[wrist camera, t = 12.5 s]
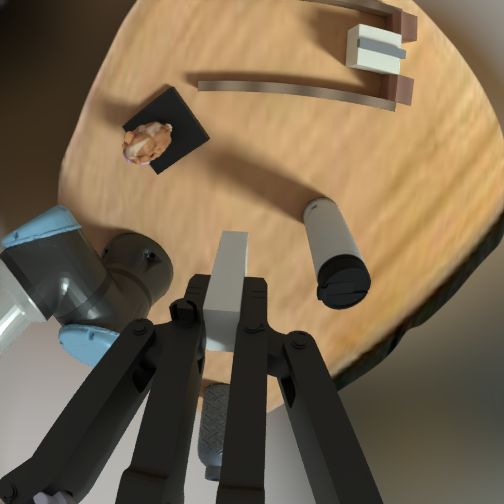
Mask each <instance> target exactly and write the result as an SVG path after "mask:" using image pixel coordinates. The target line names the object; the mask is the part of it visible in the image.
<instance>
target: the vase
mask: <svg viewBox="0 0 504 504" xmlns="http://www.w3.org/2000/svg"><path fill="white" fill-rule="evenodd" d="M229 390H230V385H226V384H215V385H211V386H209V387H207V388H206V390H205V391H204V396H203V404H202V412H201V421H200V430H199V438H198V456H199V459H200V460H201V462H202V463H203V464H204V465H205V466H206V471H205V479H207V480H211V481H219V480H220V471H221V462H222V453H223V444H224V435H225V426H226V417H227V408H228V399H229Z"/></svg>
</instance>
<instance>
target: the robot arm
mask: <svg viewBox="0 0 504 504" xmlns="http://www.w3.org/2000/svg"><path fill="white" fill-rule="evenodd" d="M81 227H82V226H81V225H80V224H79V223H78V222H77V220H76V219H75V217H74V216H73V214H72V213H71V211H70V210H69V209H68V208H67V207H66V206H64V205H57V206H55V207H53V208H51V209H49V210H47V211H46V212H44V213H43V214H41V215H39V216H37V217H35V218H34V219H32V220H30V221H29V222H27V223H26V224H24V225H22V226H21V227H19V228H18V229H16V230H15V231H13V232H12V233H10V234H8V235H7V236H5V237H4V238H3V239H2V247H3V248H5V250H4V251H3V252H2V253H1V254H0V358H1V356H2V355H3V354H4V353H5V352H6V351H7V349H8V348H9V347H10V346H11V345H12V343H13V342H14V341H15V340H16V339H17V338H18V336H19V335H20V334H21V333H22V332H23V331H24V329H25V328H26V327H27V326H28V325H29V324H30V323H32V322H42V323H45V322H46V321H47V320H48V319H49V318H50V317H51V316H52V315H53V316H54V317H55V318H56V319H57V321H58V322H59V323H60V324H61V326H62V327H61V328H60V330H59V335H58V338H59V340H60V344H61V346H62V347H63V348H64V349H65V350H66V351H67V352H68V353H69V354H70V355H71V356H73V357H74V358H76V359H77V360H79V361H81V362H82V363H85V364H87V365H89V366H92V367H94V369H93V370H92V371H91V373H90V374H89V375H88V377H87V378H86V379H85V381H84V382H83V383H82V385H81V386H80V388H79V389H78V390H77V392H76V393H75V394H74V396H73V398H72V399H71V400H70V401H69V403H68V404H67V406H66V407H65V408H64V410H63V411H62V413H61V414H60V416H59V417H58V419H57V420H56V421H55V423H54V424H53V426H52V427H51V429H50V430H49V432H48V433H47V435H46V436H45V437H44V439H43V440H42V442H41V444H40V445H39V447H38V448H37V450H36V451H35V453H34V454H33V456H32V457H31V458H30V459H28V460H27V461H25V462H24V463H23V464H21V465H20V466H18V467H17V468H15V469H14V470H12V471H11V472H9V473H8V474H7V475H5V476H4V477H2V478H1V479H0V504H78V503H79V502H80V501H82V499H83V498H84V497H85V496H86V495H87V494H88V493H89V491H90V490H91V488H92V487H93V485H94V484H95V482H96V480H97V478H98V477H99V475H100V473H101V471H102V470H103V468H104V466H105V465H106V463H107V461H108V459H109V458H110V456H111V454H112V453H113V451H114V449H115V447H116V446H117V444H118V442H119V441H120V439H121V437H122V436H123V434H124V432H125V431H126V429H127V427H128V426H129V424H130V422H131V420H132V419H133V417H134V415H135V414H136V412H137V410H138V409H139V407H140V405H141V404H142V402H143V400H144V399H145V397H146V395H147V394H148V392H149V390H150V393H149V396H148V400H147V403H146V407H145V411H144V414H143V418H142V422H141V425H140V429H139V433H138V437H137V441H136V445H135V449H134V453H133V457H132V461H131V464H130V466H129V467H128V468H127V469H126V470H124V472H123V474H122V476H121V480H120V484H119V488H118V492H117V497H116V501H115V504H184V483H185V476H186V470H187V463H188V457H189V450H190V444H191V438H192V432H193V425H194V420H195V414H196V409H197V403H198V397H199V391H200V386H201V380H202V375H203V369H204V364H205V348H206V347H207V350H214V351H225V352H234V355H233V364H232V373H231V381H230V390H229V399H228V408H227V417H226V426H225V435H224V444H223V453H222V462H221V471H220V480H219V485H218V490H217V497H216V504H265V490H264V469H265V440H266V439H265V438H266V404H267V374H268V375H271V376H274V377H277V380H278V383H279V386H280V390H281V393H282V396H283V399H284V403H285V406H286V409H287V412H288V415H289V419H290V422H291V425H292V428H293V432H294V435H295V438H296V441H297V444H298V448H299V451H300V454H301V457H302V461H303V464H304V467H305V470H306V473H307V476H308V479H309V483H310V486H311V488H312V492H313V495H314V498H315V501H316V504H383V501H382V499H381V496H380V494H379V491H378V489H377V486H376V484H375V481H374V479H373V476H372V474H371V471H370V469H369V466H368V464H367V462H366V459H365V457H364V454H363V452H362V449H361V447H360V445H359V442H358V440H357V437H356V435H355V433H354V430H353V428H352V425H351V423H350V421H349V418H348V416H347V414H346V411H345V409H344V407H343V404H342V402H341V399H340V397H339V395H338V393H337V390H336V388H335V386H334V383H333V381H332V379H331V376H330V374H329V372H328V369H327V367H326V365H325V363H324V360H323V358H322V356H321V353H320V351H319V349H318V347H317V344H316V342H315V340H314V338H313V337H312V336H311V335H310V334H308V333H307V332H304V331H292V332H289V333H288V334H287V335H285V334H282V333H279V332H277V331H275V330H273V329H272V328H271V327H270V326H269V324H268V321H267V283H266V281H265V280H264V278H257V277H246V272H247V252H248V232H236V231H223V232H222V236H221V240H220V243H219V247H218V251H217V255H216V259H215V262H214V266H213V270H212V274H211V275H204V274H195V275H194V276H193V277H192V278H191V279H190V280H189V283H188V286H187V289H186V293H185V295H184V298H181V299H178V300H175V301H174V302H173V303H171V305H170V307H169V309H170V314H171V319H172V321H170V322H168V323H164V324H157V325H153V323H152V322H151V321H150V320H148V319H146V318H147V316H148V313H149V311H150V308H151V307H152V306H153V305H154V304H155V303H156V302H157V301H158V300H159V299H160V298H161V297H162V296H164V295H165V293H166V292H167V291H168V289H169V287H170V284H171V282H172V279H173V266H172V263H171V260H170V258H169V257H168V255H167V253H166V252H165V251H164V250H163V249H162V248H161V247H160V246H159V245H158V244H157V243H156V242H154V241H153V240H151V239H149V238H147V237H145V236H142V235H139V234H134V233H126V234H121V235H118V236H116V237H115V238H113V239H112V240H111V241H110V242H109V243H108V245H107V246H106V247H105V249H104V250H103V253H102V256H101V258H100V257H99V255H98V254H97V252H96V251H95V249H94V248H93V246H92V245H91V243H90V241H89V240H88V238H87V236H86V235H85V233H84V231H83V230H82V228H81Z"/></svg>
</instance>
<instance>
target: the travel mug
mask: <svg viewBox="0 0 504 504" xmlns="http://www.w3.org/2000/svg"><path fill="white" fill-rule="evenodd" d="M303 220H304V224H305V228H306V232H307V237H308V241H309V245H310V250H311V254H312V259H313V264H314V268H315V273H316V277H317V282H318V287H317V297H318V300H322V301H323V303H324V304H325V305H326V306H327V307H329V308H332V309H337V310H340V309H347V308H350V307H353V306H354V305H356V304H358V303H359V302H361V301H362V300H363V299H364V298H365V296H366V295H367V293H368V292H367V291H368V290H369V288H370V285H371V279H370V275H369V273H368V270H367V268H366V265H365V262H364V260H363V258H362V256H361V253H360V251H359V249H358V247H357V245H356V243H355V241H354V238H353V236H352V234H351V232H350V230H349V228H348V226H347V224H346V222H345V220H344V218H343V216H342V214H341V212H340V210H339V208H338V206H337V204H336V203H335V202H334V201H332V200H330V199H327V198H318V199H315V200H313V201H311V202H310V203H309V204H308V205H307V206H306V207H305V209H304V212H303Z"/></svg>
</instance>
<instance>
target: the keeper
mask: <svg viewBox="0 0 504 504" xmlns="http://www.w3.org/2000/svg"><path fill="white" fill-rule="evenodd" d="M401 37H402V35H399V34H396V33H393V32H389V31H386V30H382V29H379V28H375V27H371V26H367V25H363V24H358V25H356V26H355V27H353V28H351V29H349V30H348V34H347V51H346V64H345V66H346V67H352V68H357V69H361V70H366V71H371V72H375V73H379V74H393V75H399V68H400V59H405V56H406V51H405V50H402V49H401Z"/></svg>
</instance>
